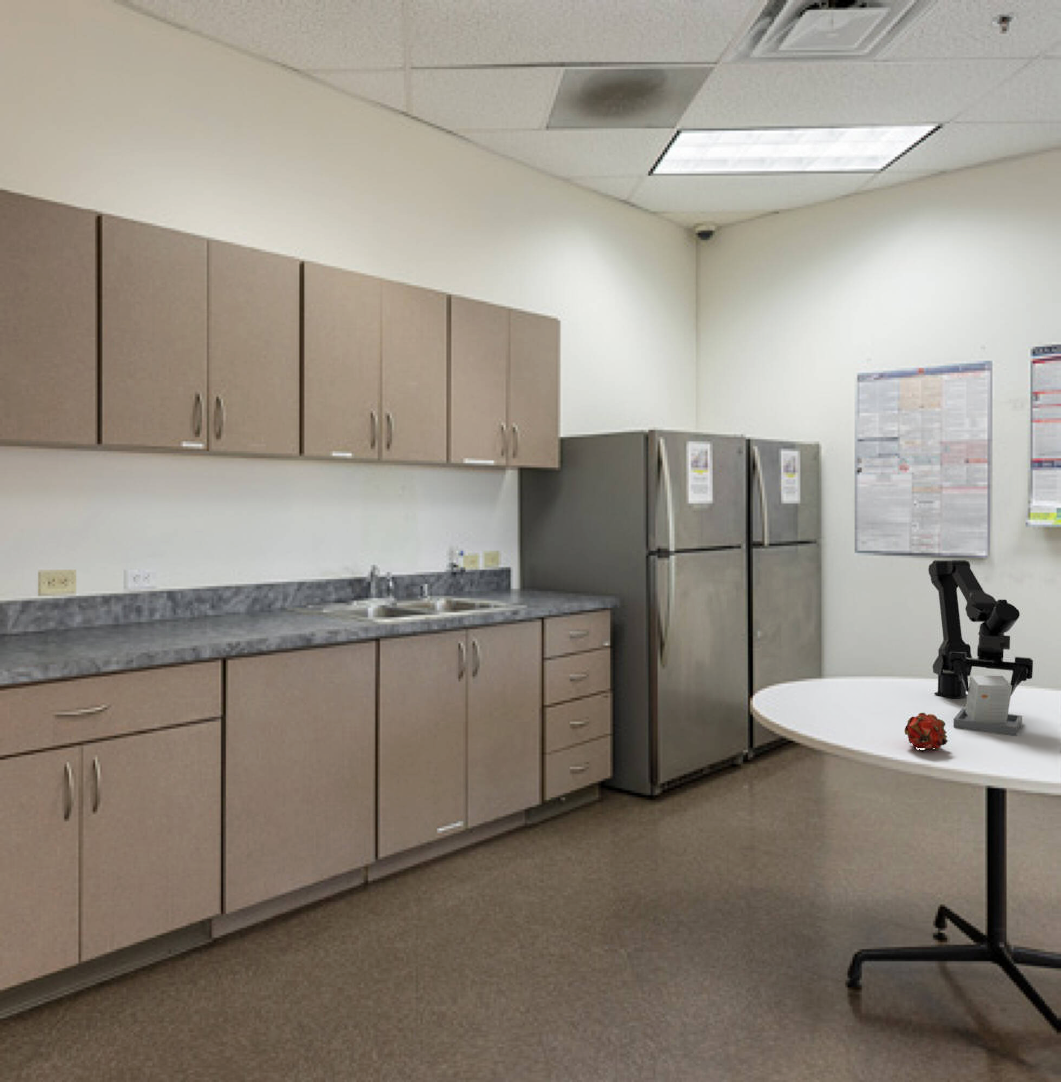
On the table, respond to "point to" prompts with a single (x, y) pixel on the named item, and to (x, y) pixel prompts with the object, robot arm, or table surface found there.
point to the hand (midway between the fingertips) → (988, 692)
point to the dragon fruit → (926, 731)
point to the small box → (988, 699)
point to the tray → (989, 724)
